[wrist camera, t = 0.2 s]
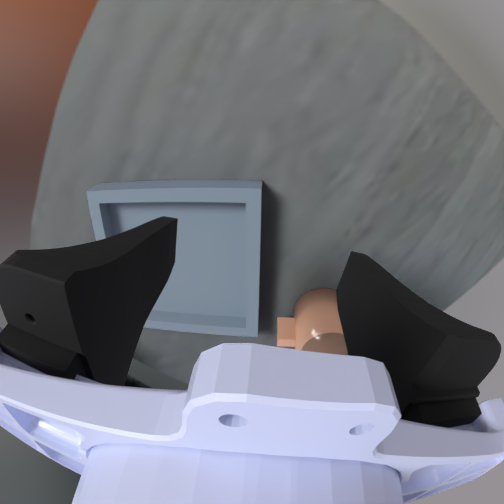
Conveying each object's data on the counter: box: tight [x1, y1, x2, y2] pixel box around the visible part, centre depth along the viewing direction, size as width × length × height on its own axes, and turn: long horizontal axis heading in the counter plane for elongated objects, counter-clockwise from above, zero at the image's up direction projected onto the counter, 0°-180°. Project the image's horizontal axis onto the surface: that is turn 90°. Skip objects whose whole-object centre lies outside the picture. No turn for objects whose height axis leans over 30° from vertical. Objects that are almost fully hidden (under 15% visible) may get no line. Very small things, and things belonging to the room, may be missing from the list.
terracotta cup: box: [277, 288, 348, 355], centre depth 24 cm, size 5×6×5 cm
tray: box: [86, 180, 262, 337], centre depth 23 cm, size 13×13×2 cm
